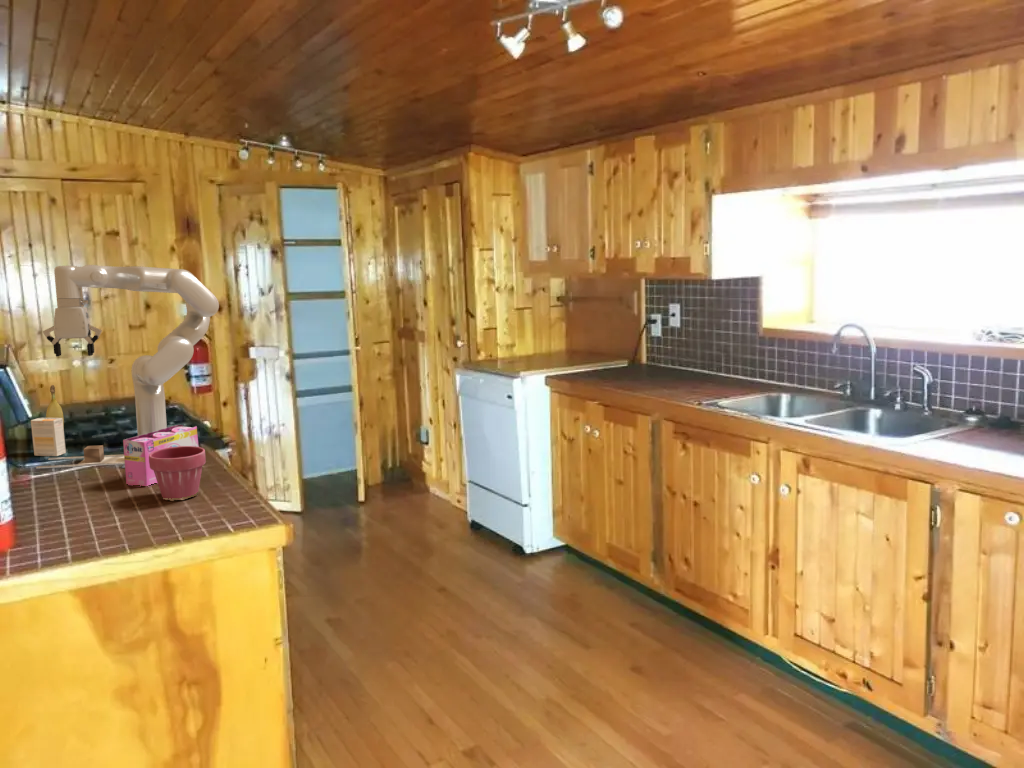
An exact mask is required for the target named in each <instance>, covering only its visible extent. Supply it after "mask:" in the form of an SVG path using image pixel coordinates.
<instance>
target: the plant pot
mask: <svg viewBox="0 0 1024 768" xmlns="http://www.w3.org/2000/svg"><path fill="white" fill-rule="evenodd" d="M206 460H207V458H206V450H205V448H204V447H201V446H199V447H195V446H178V447H170V448H164V449H160V450H157V451H154V452H152V453H150V454H149V465H150V469H152V470H154V473H155V476H156V480H157V486H158V489H159V492H160V494H161V498H162V497H163V498H168V499H169V498H171V499H172V498H182V497H187V496H191V495H194V494H196V493H197V492H198V493H199V490H200V484H201V479H202V478H201V477H202V471H203V466H204V465H205V464H206V462H207V461H206ZM163 498H162V499H163Z"/></svg>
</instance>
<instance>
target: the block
mask: <svg viewBox="0 0 1024 768" xmlns="http://www.w3.org/2000/svg"><path fill="white" fill-rule="evenodd" d="M104 455H105V453H104V445H103V444H102V445H87V446H86V447H85V448H83V456H84V458H83V460H85V463H98V462H101V461H102V460H104Z"/></svg>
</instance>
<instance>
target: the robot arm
mask: <svg viewBox="0 0 1024 768" xmlns="http://www.w3.org/2000/svg"><path fill="white" fill-rule="evenodd" d="M53 271H54V272H53V273H54V274H53V275H54V282H55V285H54V286H55V294H56V295H55V296H56V308H55V309H54V316H53V318H54V319H53V326H50V327H48V328H47V329H45V330H43V331H42V333H43V335H44V336H45V338H46V339H47V340H48V342H49V343H50V344H52V347H53V354H54V355H55V357H61V356H62V348H61V343H60V341H61V340H62V339H64V340H65V339H67V340H68V339H85V341H86V342H87V344H86V347H87V350H86V351H87V356H89V357H91V356H93V355H94V353H95V344H94V343H95V342H97V340H98V339H99V338H100V336H101V333H102V331H103V330H102V329H100V328H99V327H96V326H93V325H91V320H90V315H89V312H88V308H87V307H84V306H86V305H88V304H89V300H88V299H84V297H83V287H84V288H92V289H98V288H103V289H119V290H126V291H131V292H132V291H133V292H145V293H146V292H147V293H149V292H150V293H165V294H166V293H168V294H178V295H179V296H180V297H181V298H182V300H184V301H185V306H186V315H185V317H184V319H183V321H181V323H180V324H179V325H178V326H177V327H176V328H175V329H173V330H172V331H170V332H169V334H167V335H166V336H165V337H163V338H162V339H161V340H160V342H158V345H157V352H155V354H153V355H147V354H146V355H140V356H139V357H137V358H136V359H135V360H134V361H133V363H132V365H131V378H132V383H133V391H134V401H135V416H136V429H137V436H139V435H143V434H147V433H151V432H154V431H158V430H161V429H164V428H167V427H168V425H167V424H168V423H167V413H166V412H167V411H166V409H167V408H166V394H165V386H164V384H165V383H166V382H168V381H169V380H170V379H171V378H172V377H174V376H175V375H176V374H177V373H179V371H181V369H183V367H185V366H186V365H188V363H190V361H191V359H192V358H193V355H194V351H195V350H194V349H195V348H194V346H195V345H196V344H197V343H198V342H199V341H200V340H201V339H202V338H203V337H204V336H205V335H206V334H207V332H208V330H209V327H210V321H211V317H213V316H215V315H217V313H218V311H219V310H220V309H219V308H220V303H219V299H218V298H217V297H216V296H215V294H214V293H213V292H212V291H211V290H210V289H208V288H207V286H205V285H204V284H203V283H202V282H201V281H200V280H199V279H198V278H197V277H196V276H195V275H194V274H193V273H192V272H190V270H187V269H183V268H182V269H181V268H167V267H153V266H152V267H151V266H136V265H135V266H110V265H97V264H85V265H83V266H77V265H57V266H55V268H54V270H53ZM51 332H53V333H54V336H55V337H53V336H52V335H51ZM92 332H94V333H95V334H94V336H93V337H92Z"/></svg>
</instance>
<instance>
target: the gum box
mask: <svg viewBox="0 0 1024 768" xmlns="http://www.w3.org/2000/svg"><path fill="white" fill-rule="evenodd" d="M198 437H199V436H198V427H197V425H194V426H193V427H191V426H184V425H183V424H176V425H172V426H167V428H164V429H161V430H158V431H154V432H151V433H147V434H143V435H139V436H138V435H136V436H133V437H129V438H126V439H125V438H124V439H123V440H122V442H123V454H124V459H125V468H124V470H125V471H124V473H125V482H126V484H128V485H127V486H133V485H140V486H139V487H141V485H142V486H148V485H151V484H154V483H157V480H156V476H155V473H154V470H152V469H150V465H149V454H150V453H152V452H154V451H157V450H160V449H164V448H170V447H178V446H195V447H200V446H199V438H198ZM157 484H158V483H157ZM154 485H155V484H154ZM151 486H152V485H151ZM148 487H149V486H148Z"/></svg>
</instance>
